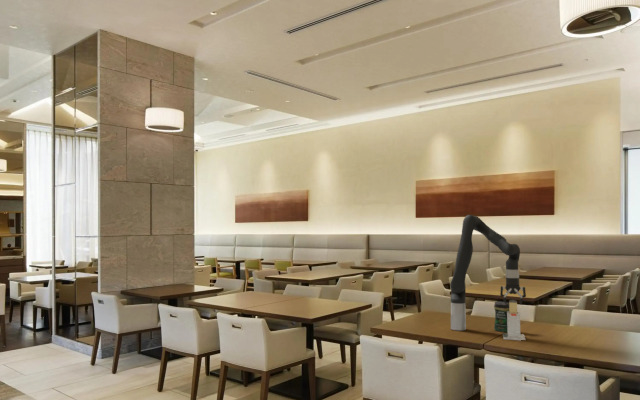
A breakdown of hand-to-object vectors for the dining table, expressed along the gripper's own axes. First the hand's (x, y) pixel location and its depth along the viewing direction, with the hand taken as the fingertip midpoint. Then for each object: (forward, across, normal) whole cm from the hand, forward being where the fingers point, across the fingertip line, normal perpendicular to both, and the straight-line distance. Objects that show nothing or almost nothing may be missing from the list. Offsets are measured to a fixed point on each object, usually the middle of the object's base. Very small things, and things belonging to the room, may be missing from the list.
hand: (513, 303), depth 288 cm
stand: (+20, 0, 0) cm, 20 cm away
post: (+19, 0, 0) cm, 19 cm away
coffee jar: (+20, -6, +19) cm, 28 cm away
